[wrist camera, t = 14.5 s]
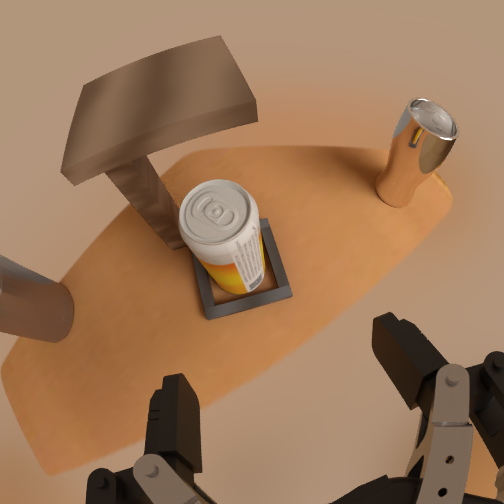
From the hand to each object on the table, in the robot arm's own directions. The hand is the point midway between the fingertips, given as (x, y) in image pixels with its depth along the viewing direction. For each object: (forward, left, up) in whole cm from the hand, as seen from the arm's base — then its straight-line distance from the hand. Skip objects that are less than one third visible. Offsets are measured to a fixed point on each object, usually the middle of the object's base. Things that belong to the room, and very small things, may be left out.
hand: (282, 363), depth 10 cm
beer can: (-3, +10, -21) cm, 23 cm away
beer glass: (+20, +20, -21) cm, 35 cm away
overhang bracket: (-5, +13, -21) cm, 25 cm away
